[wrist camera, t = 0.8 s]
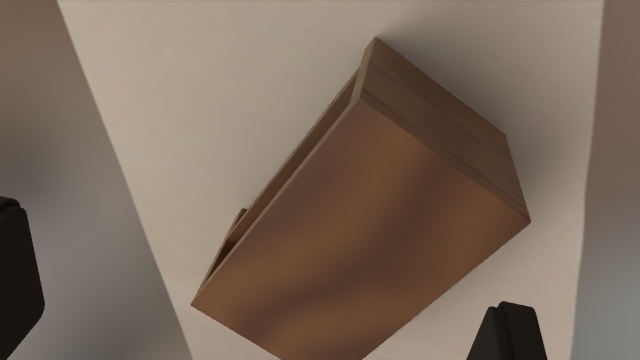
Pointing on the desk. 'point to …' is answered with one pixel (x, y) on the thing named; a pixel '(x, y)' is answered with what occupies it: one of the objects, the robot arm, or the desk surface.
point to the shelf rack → (366, 218)
